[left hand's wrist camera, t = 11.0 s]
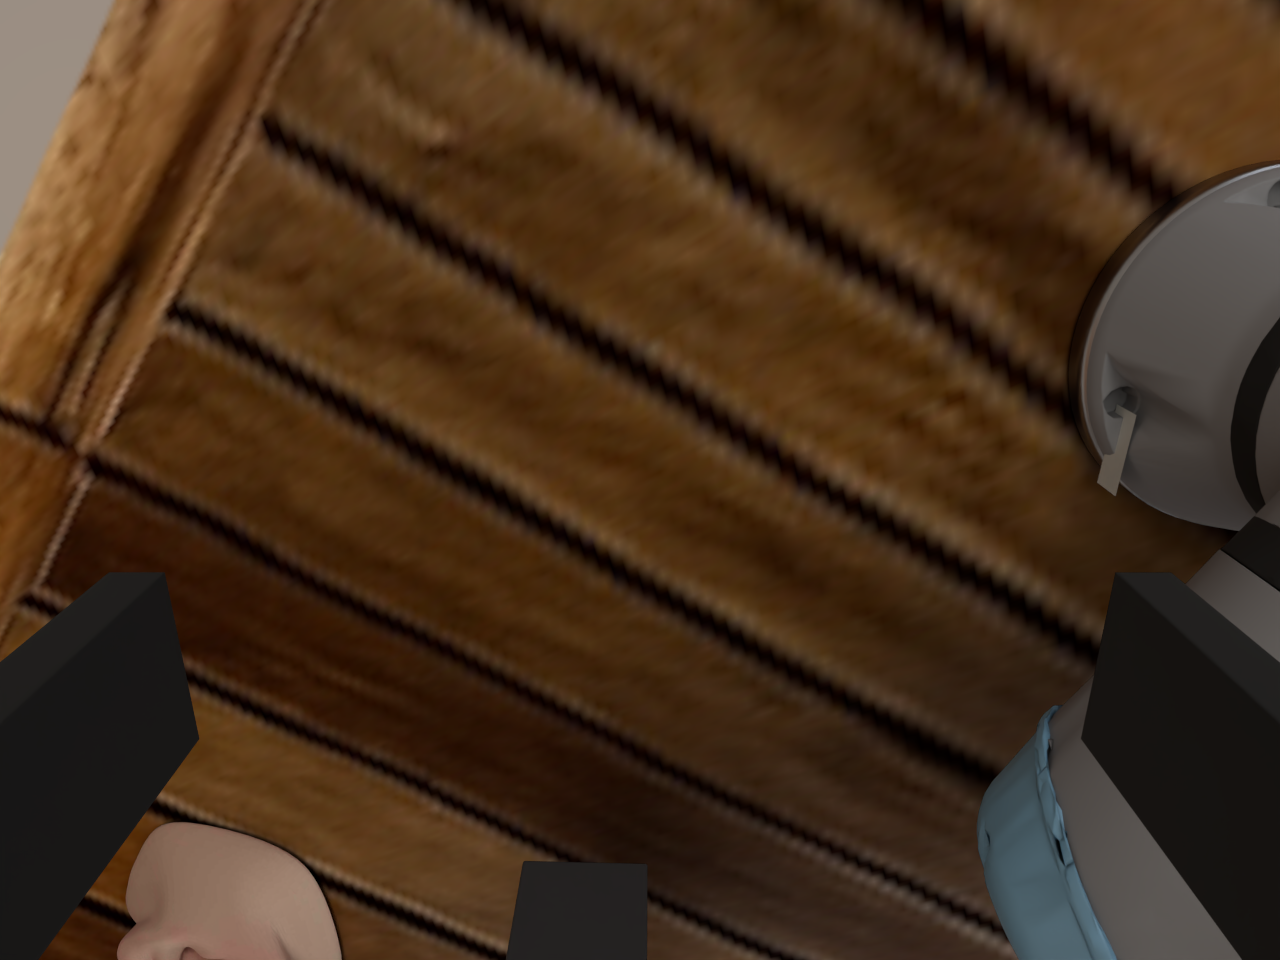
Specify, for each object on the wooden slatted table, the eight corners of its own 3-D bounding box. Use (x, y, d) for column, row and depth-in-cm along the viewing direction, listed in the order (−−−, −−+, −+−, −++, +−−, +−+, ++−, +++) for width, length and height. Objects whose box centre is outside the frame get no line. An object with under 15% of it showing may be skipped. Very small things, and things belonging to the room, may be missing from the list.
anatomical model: (67, 875, 44) (304, 884, 44) (112, 817, 48) (330, 826, 48) (110, 1066, 49) (324, 1074, 49) (147, 1000, 52) (347, 1007, 53)
